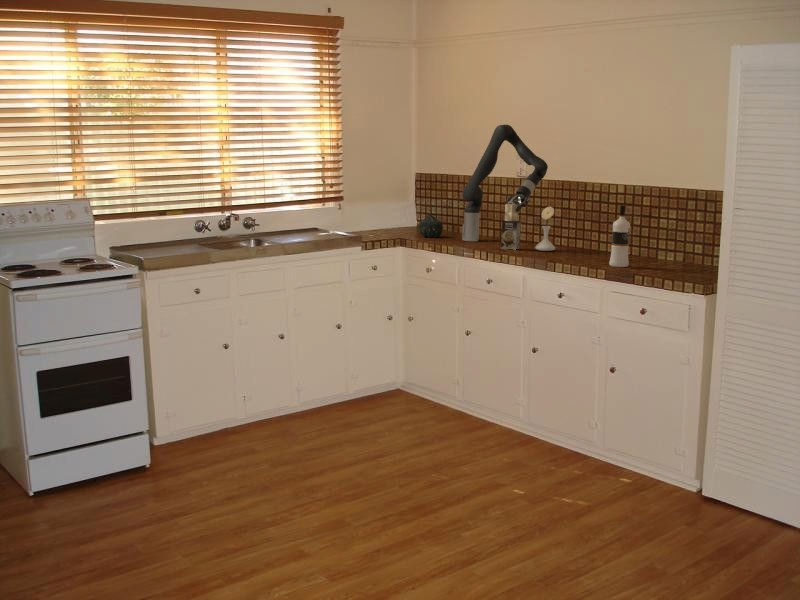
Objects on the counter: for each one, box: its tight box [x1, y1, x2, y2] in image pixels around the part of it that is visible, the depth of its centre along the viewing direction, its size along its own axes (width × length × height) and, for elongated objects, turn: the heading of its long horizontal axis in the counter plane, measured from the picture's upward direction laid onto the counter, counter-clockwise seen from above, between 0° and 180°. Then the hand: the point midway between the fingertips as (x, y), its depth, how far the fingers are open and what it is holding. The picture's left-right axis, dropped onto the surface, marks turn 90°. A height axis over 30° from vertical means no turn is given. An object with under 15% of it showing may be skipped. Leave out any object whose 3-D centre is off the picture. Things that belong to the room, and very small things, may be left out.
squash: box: [418, 214, 443, 238], centre depth 555 cm, size 14×15×15 cm
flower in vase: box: [534, 206, 556, 252], centre depth 493 cm, size 13×11×25 cm
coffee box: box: [500, 219, 522, 251], centre depth 498 cm, size 9×6×16 cm
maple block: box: [504, 203, 519, 221], centre depth 496 cm, size 5×5×9 cm
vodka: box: [608, 204, 631, 268], centre depth 433 cm, size 9×9×30 cm
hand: (510, 210), depth 495 cm, fingers open, 8 cm apart
